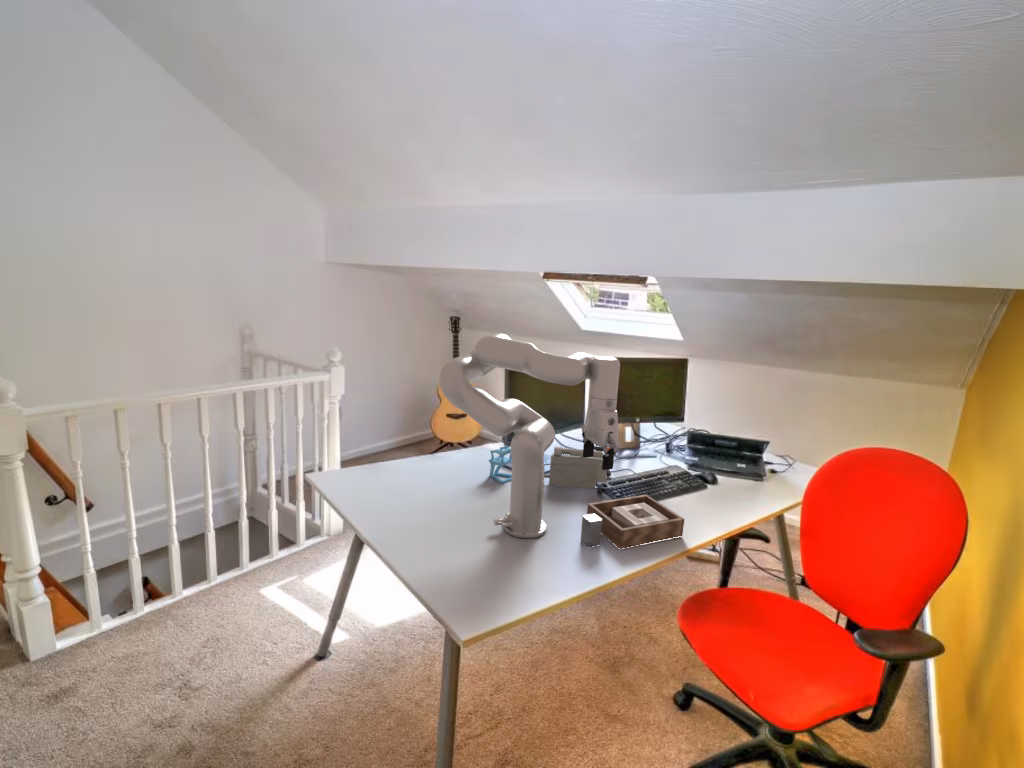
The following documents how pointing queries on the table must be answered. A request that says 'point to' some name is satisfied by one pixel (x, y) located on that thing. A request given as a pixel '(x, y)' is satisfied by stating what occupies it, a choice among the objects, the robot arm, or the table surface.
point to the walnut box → (636, 520)
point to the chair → (500, 463)
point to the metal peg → (591, 530)
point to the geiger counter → (575, 468)
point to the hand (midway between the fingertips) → (597, 462)
